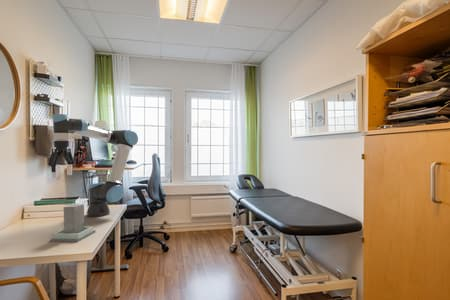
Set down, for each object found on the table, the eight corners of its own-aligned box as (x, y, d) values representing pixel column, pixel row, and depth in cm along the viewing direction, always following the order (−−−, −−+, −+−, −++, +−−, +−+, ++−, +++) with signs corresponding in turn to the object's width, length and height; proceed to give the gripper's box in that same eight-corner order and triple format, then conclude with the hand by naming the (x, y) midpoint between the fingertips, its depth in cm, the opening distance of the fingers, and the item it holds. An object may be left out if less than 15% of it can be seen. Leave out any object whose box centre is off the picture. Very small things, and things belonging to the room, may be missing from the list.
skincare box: (74, 237, 135) (74, 207, 135) (62, 236, 137) (62, 206, 137) (85, 232, 144) (85, 203, 144) (74, 231, 145) (74, 203, 145)
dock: (70, 231, 148) (70, 225, 148) (95, 232, 147) (95, 225, 147) (49, 241, 132) (49, 234, 132) (77, 242, 131) (77, 235, 131)
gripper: (68, 140, 165) (69, 174, 165) (39, 140, 140) (40, 179, 140) (79, 140, 165) (80, 173, 165) (53, 139, 140) (54, 178, 140)
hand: (62, 176), depth 153 cm, fingers open, 13 cm apart
